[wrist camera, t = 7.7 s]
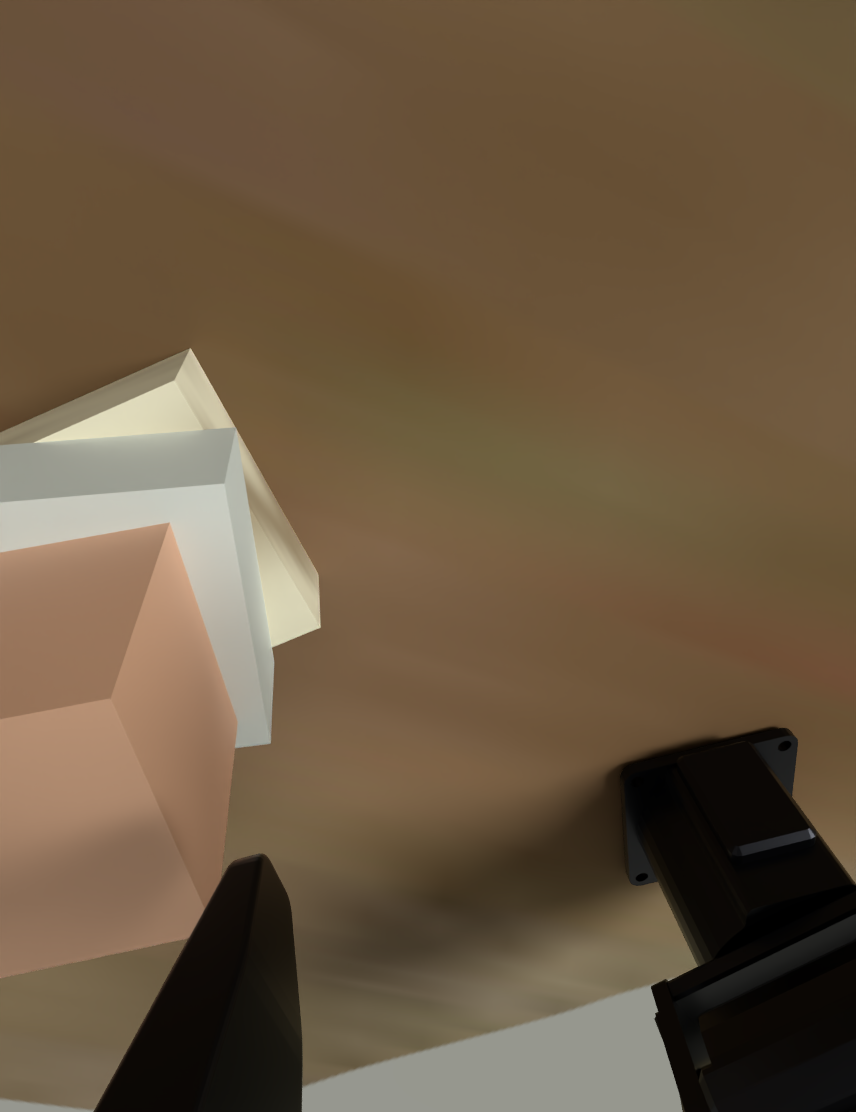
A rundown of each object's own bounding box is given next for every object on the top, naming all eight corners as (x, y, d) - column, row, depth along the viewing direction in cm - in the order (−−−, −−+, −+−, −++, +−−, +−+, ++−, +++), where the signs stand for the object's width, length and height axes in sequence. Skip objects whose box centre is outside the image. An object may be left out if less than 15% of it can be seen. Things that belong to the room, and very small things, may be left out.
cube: (169, 521, 14) (111, 698, 10) (237, 722, 16) (215, 932, 12) (-108, 571, 14) (-298, 776, 9) (5, 767, 16) (-103, 999, 12)
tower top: (274, 661, 19) (270, 744, 17) (14, 691, 19) (-31, 781, 16) (235, 427, 16) (224, 483, 14) (-80, 451, 15) (-155, 515, 13)
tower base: (318, 567, 22) (320, 627, 19) (102, 658, 22) (75, 728, 20) (192, 344, 18) (174, 380, 16) (-63, 457, 19) (-121, 510, 16)
